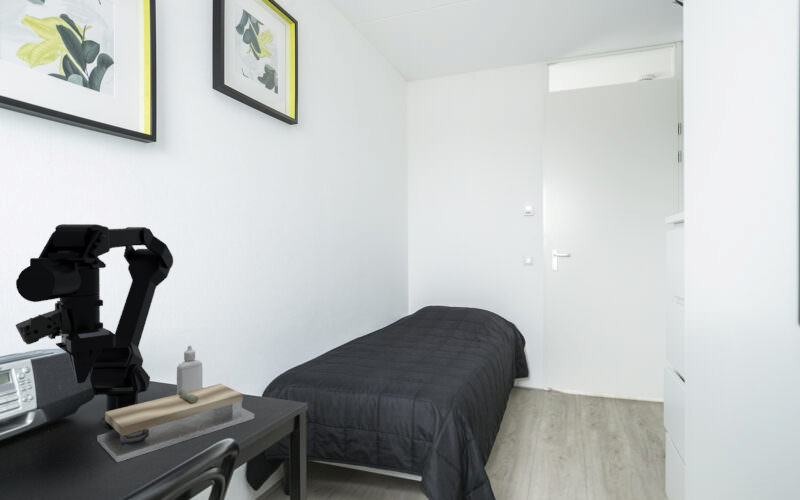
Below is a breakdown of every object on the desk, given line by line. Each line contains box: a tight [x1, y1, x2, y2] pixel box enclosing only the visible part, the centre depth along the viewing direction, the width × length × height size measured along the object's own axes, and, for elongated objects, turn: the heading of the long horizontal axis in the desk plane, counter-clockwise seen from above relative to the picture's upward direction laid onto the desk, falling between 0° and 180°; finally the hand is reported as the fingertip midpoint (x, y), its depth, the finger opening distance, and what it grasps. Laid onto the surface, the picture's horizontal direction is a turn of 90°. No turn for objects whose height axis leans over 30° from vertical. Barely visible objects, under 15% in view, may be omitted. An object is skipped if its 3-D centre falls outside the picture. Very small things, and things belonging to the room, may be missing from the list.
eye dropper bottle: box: [176, 345, 204, 394], centre depth 106 cm, size 4×6×12 cm
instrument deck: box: [104, 383, 244, 436], centre depth 86 cm, size 10×22×3 cm, turn 138°
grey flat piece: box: [96, 401, 255, 463], centre depth 86 cm, size 12×25×4 cm, turn 138°
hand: (80, 382), depth 77 cm, fingers closed
